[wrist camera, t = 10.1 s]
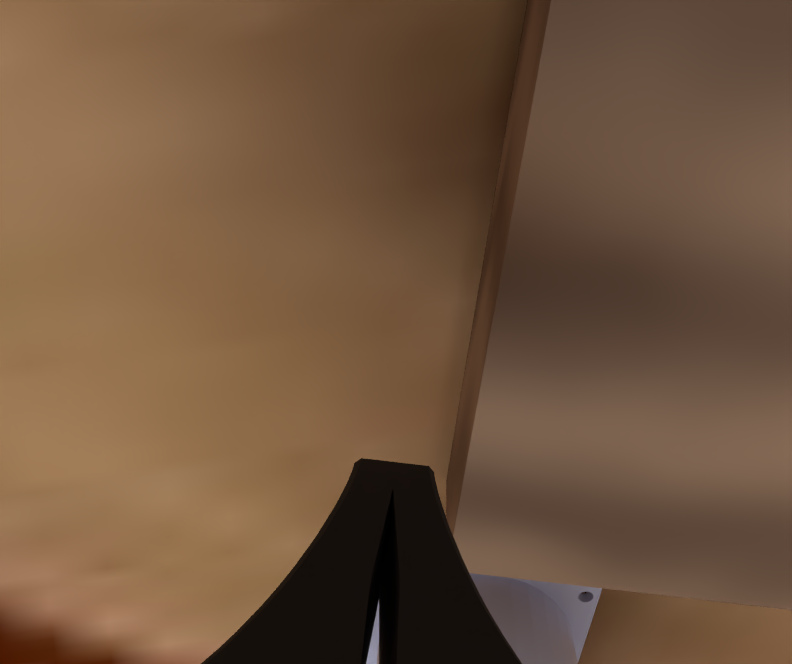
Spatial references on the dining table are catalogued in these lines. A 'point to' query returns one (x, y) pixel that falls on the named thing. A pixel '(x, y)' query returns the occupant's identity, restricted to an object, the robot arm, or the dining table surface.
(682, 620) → the dining table surface
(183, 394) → the dining table surface
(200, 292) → the dining table surface
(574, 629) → the robot arm
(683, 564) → the walnut board
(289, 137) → the dining table surface
